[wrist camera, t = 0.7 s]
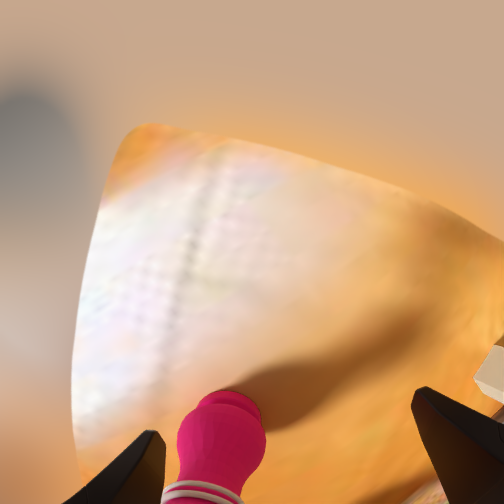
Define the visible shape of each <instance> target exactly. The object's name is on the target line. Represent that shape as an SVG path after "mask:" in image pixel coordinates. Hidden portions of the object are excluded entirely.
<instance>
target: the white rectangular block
mask: <svg viewBox="0 0 504 504" xmlns="http://www.w3.org/2000/svg"><path fill="white" fill-rule="evenodd" d="M473 379H474V380H475V382H476V383H477V385H478V386H479V388H480V389H481V391H482V392H483V393H484V394H486V395H488V396H489V397H491V398H493V399H495V400H497V401H499V402H501V403H503V404H504V347H502V346H498V345H493V347H492V349H491V350H490V352H489V354H488V355H487V357H486V358H485V360H484V362H483V363H482V365H481V366H480V368H479V369H478V371H477V372H476V374H475V375H474V377H473Z"/></svg>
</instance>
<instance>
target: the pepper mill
mask: <svg viewBox="0 0 504 504" xmlns="http://www.w3.org/2000/svg"><path fill="white" fill-rule="evenodd" d="M265 447H266V436H265V432H264V429H263V428H262V426H261V415H260V412H259V409H258V408H257V406H256V405H255V404H254V403H253V401H252V400H250V399H249V398H248V397H246V396H244V395H242V394H240V393H237V392H232V391H218V392H214V393H211V394H209V395H207V396H205V397H204V398H203V399H202V400H201V401H200V402H199V404H198V406H197V408H196V409H194V410H193V411H192V412H190V413H189V414H188V415H187V416H186V417H185V418H184V420H183V421H182V423H181V426H180V428H179V431H178V435H177V450H178V455H179V459H180V473H179V477H178V480H177V482H174V483H172V484H170V485H168V486H167V487H166V488H165V489H164V491H163V494H162V499H161V504H244V502H243V501H242V499H241V498H240V494H241V491H242V487H243V485H244V483H245V481H246V480H247V478H248V477H249V476H250V475H251V474H252V473H253V472H254V471H255V470H256V469H257V467H258V466H259V464H260V463H261V461H262V459H263V456H264V453H265Z"/></svg>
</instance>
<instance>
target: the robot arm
mask: <svg viewBox="0 0 504 504" xmlns="http://www.w3.org/2000/svg"><path fill="white" fill-rule="evenodd" d="M411 410H412V413H413V416H414V419H415V422H416V424H417V427H418V430H419V433H420V436H421V439H422V442H423V444H424V446H425V449H426V451H427V453H428V455H429V457H430V459H431V462H432V464H433V466H434V468H435V470H436V473H437V475H438V477H439V480H440V482H441V484H442V487H443V489H444V491H445V494H446V496H447V499H448V501H449V504H504V424H502V423H500V422H497V421H496V420H494V419H492V418H489V417H487V416H485V415H483V414H481V413H479V412H477V411H475V410H473V409H471V408H469V407H467V406H465V405H463V404H461V403H459V402H457V401H455V400H453V399H451V398H449V397H447V396H445V395H443V394H441V393H439V392H437V391H435V390H433V389H431V388H429V387H427V386H424V387H421V388H419V389H417V390H416V391H415V393H414V396H413V400H412V403H411ZM165 459H166V444H165V442H164V441H163V439H162V438H161V436H160V434H159V433H158V432H157V431H156V430H145V431H144V432H143V433H141V434H140V435H139V436H138V437H137V438H136V439H135V440H134V441H133V442H132V443H131V444H130V445H129V446H128V447H127V448H126V449H125V450H124V451H123V452H122V453H121V454H120V455H119V456H117V457H116V458H115V459H114V460H113V461H112V462H111V463H110V464H109V465H108V466H107V467H106V468H104V469H103V470H102V471H101V472H100V473H99V474H98V475H97V476H96V477H94V478H93V479H92V480H91V481H90V482H89V483H88V484H87V485H86V486H84V487H83V488H82V489H81V490H80V491H79V492H77V493H76V494H75V495H73V496H72V497H71V498H70V499H68V500H67V501H65V502H64V503H62V504H161V499H162V493H163V487H164V479H165Z"/></svg>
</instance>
